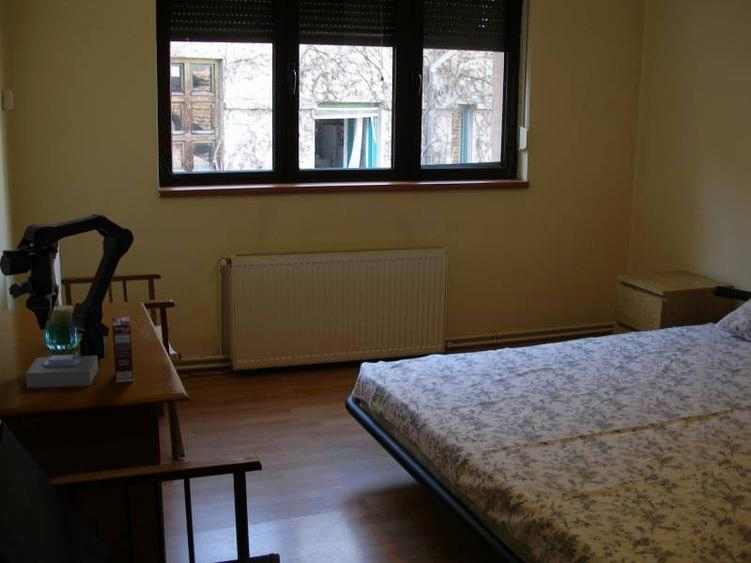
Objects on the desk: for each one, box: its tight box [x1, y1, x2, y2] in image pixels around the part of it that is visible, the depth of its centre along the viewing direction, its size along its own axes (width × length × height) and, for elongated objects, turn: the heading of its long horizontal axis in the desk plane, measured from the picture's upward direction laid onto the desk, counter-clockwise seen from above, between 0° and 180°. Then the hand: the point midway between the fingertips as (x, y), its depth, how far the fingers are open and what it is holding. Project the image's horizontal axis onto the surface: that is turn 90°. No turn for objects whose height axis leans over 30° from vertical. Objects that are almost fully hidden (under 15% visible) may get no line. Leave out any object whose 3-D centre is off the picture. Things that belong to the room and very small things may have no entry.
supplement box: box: [111, 316, 134, 383], centre depth 242 cm, size 9×5×16 cm, turn 16°
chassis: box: [25, 355, 99, 389], centre depth 242 cm, size 16×14×4 cm
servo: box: [43, 354, 81, 368], centre depth 241 cm, size 9×4×6 cm, turn 98°
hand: (45, 325), depth 250 cm, fingers open, 9 cm apart
